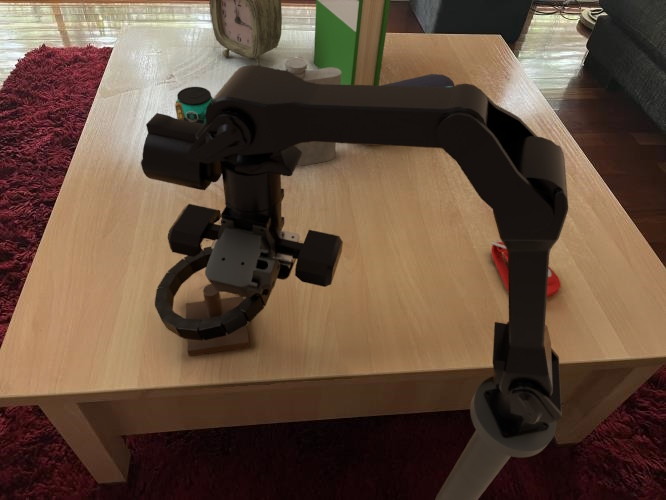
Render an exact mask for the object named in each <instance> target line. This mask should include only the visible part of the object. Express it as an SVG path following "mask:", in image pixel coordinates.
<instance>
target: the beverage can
mask: <svg viewBox="0 0 666 500" xmlns="http://www.w3.org/2000/svg"><path fill="white" fill-rule="evenodd" d="M176 97H177V99H176V101H175V102H174V103H175V104H174V107H175V113H176V119H180V120H185V121H190V122H195V123H200V124H205V123H206V118H205V113H206V109H207V106H208V105H209V103H210V102H211V101H212V99H213V98H214V97H213V96H212V93H211V91H210V90H209V89H207V88H205V87H201V86H189V87H185V88H182V89H181V90H179V91H178V93H177V95H176Z"/></svg>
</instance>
